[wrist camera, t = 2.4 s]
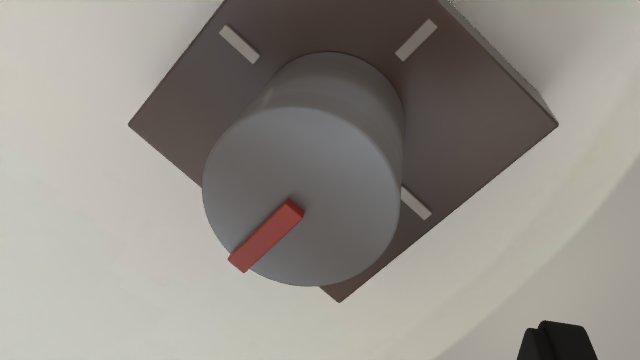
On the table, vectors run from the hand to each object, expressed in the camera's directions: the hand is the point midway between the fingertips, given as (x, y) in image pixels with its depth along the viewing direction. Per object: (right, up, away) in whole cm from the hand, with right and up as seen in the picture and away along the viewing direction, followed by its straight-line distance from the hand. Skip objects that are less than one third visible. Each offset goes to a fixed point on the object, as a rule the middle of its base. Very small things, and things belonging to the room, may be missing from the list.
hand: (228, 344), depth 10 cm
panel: (+2, +6, +12) cm, 14 cm away
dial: (+2, +4, +9) cm, 10 cm away
